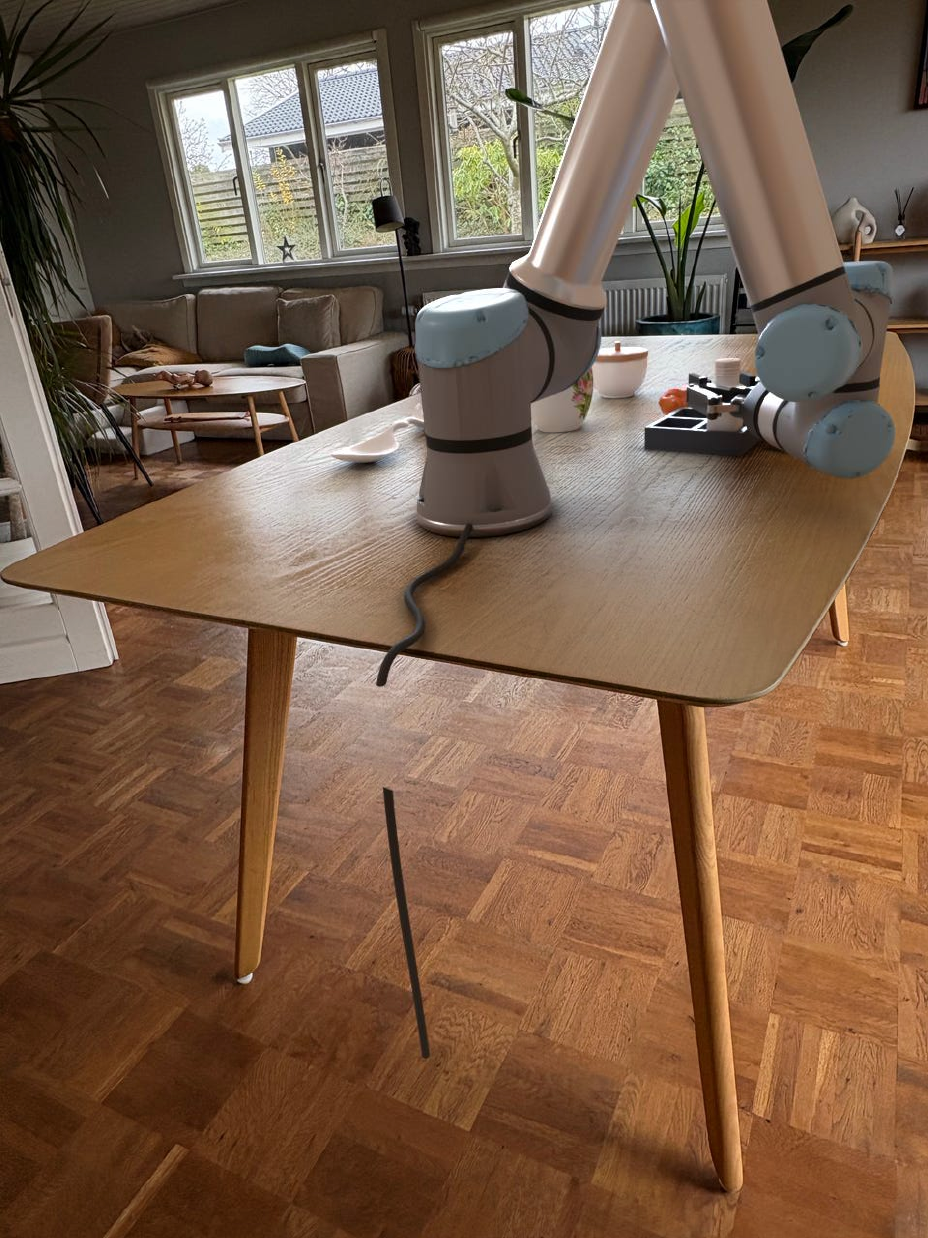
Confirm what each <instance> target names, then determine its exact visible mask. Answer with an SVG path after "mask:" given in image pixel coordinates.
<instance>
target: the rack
mask: <svg viewBox="0 0 928 1238" xmlns="http://www.w3.org/2000/svg"><path fill="white" fill-rule="evenodd" d="M643 434H644V439H643V441H644V442H643V450H646V451H659V452H660V451H661V452H674V453H685V454H698V455H710V456H711V455H713V456H722V457H723V456H725V457H736V458H738V457H739V458H741V457H742V456H744V455H745V454H746V453H748V451H750V450H751V449H752V448H754V447H755V446H756V445H758V444H759V443H760V442H761V441H762V440H760V439H758V438H756V437H755V436H753V435H752V434H751V433H750V432H749V430H748V429H747V427H746V425H745V424H744V422H743V427H742V429H741V430H740V431H738V432H734V431H718V430H707V416H706V415H704V414H702V413H700V412H698V411H696V410H694V409H692V408H688V407H681V408H679V409H677V410H675V411H673V412H671V413H670V414H668V415H664V416H663V417H660V418H659V419H657V420H655V421H653V422H652V423H649V424H648V425H646V426H644V433H643Z"/></svg>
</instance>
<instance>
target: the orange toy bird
mask: <svg viewBox="0 0 928 1238" xmlns="http://www.w3.org/2000/svg"><path fill="white" fill-rule="evenodd" d="M687 386H688V382H687V383H685V384H683V385H681V386H679V387H669V388H667V389H666V390H665V392H664V394H662V395H661V396H660V397H659V400H658V402H657V403H658V406H659V407H660V410H661V412H662V413H663V415H664V416H666V415H668V414H670V413H671V412H673V411H675V410H677V409H679V408H681V407H688V406H686V393H687ZM688 408H690V407H688Z"/></svg>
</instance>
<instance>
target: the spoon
mask: <svg viewBox="0 0 928 1238" xmlns="http://www.w3.org/2000/svg"><path fill="white" fill-rule="evenodd" d="M421 407H422V404H421V403H420V402H419V403H416V405H415V407H414V409H413V411H412V414H411V415H410V416H407V417H404V418H402V419H400V420H396V421H392V422H391V423H390V424H389V425H390V426H389V427H388V428H386V429H385V430H384V431H382V432H381V433H379V434H377V435H375V436H373V437H370V438H368V439H365V440H363V441H360V442H358V443H354V444H352V445H350V446H347V447H345V448H342V449H339V450H336V451H333V452H331V453H330V456H331V457H332V458H334V459H336V460H338V461H343V462H351V463H357V464H363V463H373V462H377V461H380V460H382V459H385V458H387V457H389V456H390V455H392V454H394V453H395V452H397V450H398V449H399V445H400V444H399V442H398V440H397V438H396V436H395V432H396V431H398V430H400V429H405V428H408V427H409V426H410V424H411V425H413V426H415V427H417V428H422V429H423V428H424V429H425V427H424V417H423V408H421Z"/></svg>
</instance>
